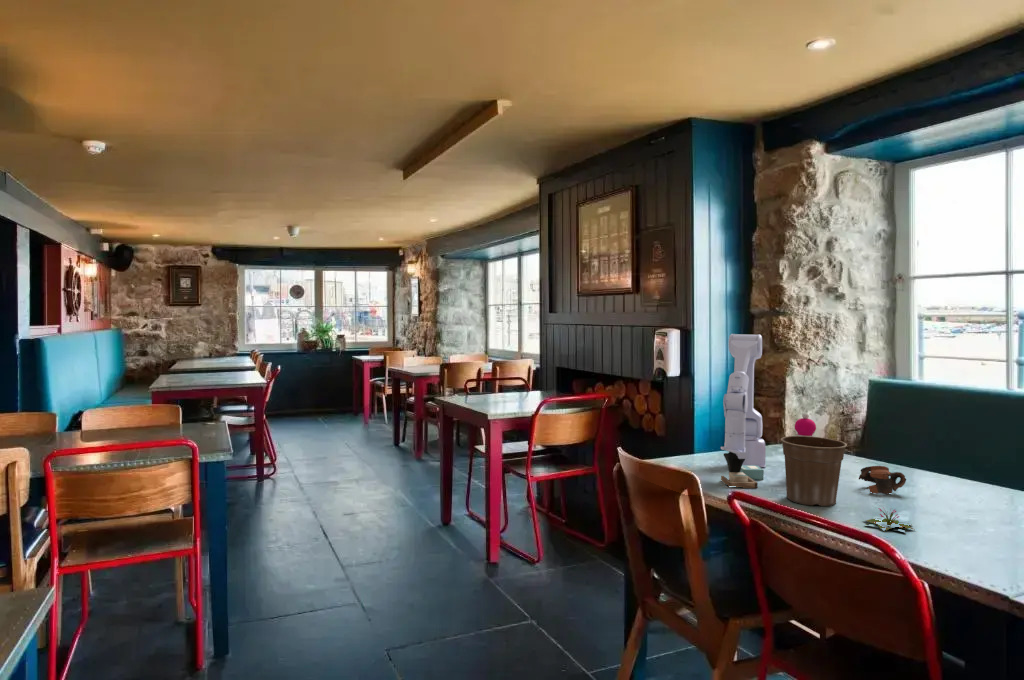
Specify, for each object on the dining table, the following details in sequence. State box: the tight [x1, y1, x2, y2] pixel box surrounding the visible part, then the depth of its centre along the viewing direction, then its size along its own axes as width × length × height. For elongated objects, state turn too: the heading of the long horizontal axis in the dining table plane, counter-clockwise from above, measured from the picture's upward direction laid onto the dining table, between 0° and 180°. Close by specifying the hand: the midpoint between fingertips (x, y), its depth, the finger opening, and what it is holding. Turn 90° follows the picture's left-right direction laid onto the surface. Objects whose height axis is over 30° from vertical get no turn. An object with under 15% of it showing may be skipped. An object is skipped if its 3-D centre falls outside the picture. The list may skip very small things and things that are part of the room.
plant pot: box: [780, 435, 848, 507], centre depth 185 cm, size 16×16×16 cm
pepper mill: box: [794, 412, 817, 437], centre depth 210 cm, size 7×7×20 cm
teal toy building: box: [740, 465, 765, 481], centre depth 211 cm, size 6×6×3 cm
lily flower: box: [865, 507, 914, 531], centre depth 163 cm, size 12×12×5 cm
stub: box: [728, 471, 748, 482], centre depth 202 cm, size 4×5×3 cm
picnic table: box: [720, 475, 759, 489], centre depth 202 cm, size 8×8×2 cm
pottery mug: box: [858, 465, 907, 495], centre depth 196 cm, size 12×10×8 cm
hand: (734, 477), depth 206 cm, fingers closed
